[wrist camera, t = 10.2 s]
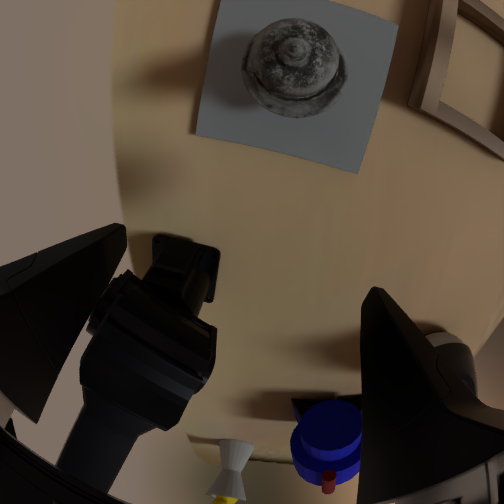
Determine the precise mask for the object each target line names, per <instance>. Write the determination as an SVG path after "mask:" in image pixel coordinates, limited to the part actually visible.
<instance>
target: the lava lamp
mask: <svg viewBox="0 0 504 504" xmlns="http://www.w3.org/2000/svg"><path fill="white" fill-rule="evenodd" d="M219 446H220V455H221V463H222V471H221V472H220V474H219V475H218V477H217V478H216V480H215V481H214V483H213V484H212V486H211V487H210V488H209V490H208V491H207V493H206V494H207V495H210V496H213V497H217V499H215V500H214V501H213V502H212V504H234V503H235V502H236V501H246V498H245V493H244V489H243V483H242V478H241V473H240V472H241V471H242V469H243V467H244V466H245V464H246V462H247V460H248V458H249V457H250V455H251V453H252V451H253V449H254V448H255V447H254V445H252V444H250V443H248V442H244V441H240V440H234V439H222V440H219Z"/></svg>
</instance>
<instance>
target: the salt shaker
mask: <svg viewBox="0 0 504 504" xmlns="http://www.w3.org/2000/svg"><path fill="white" fill-rule="evenodd" d="M241 73H242V77H243V82H244V84H245V86H246V88H247V90H248V92H249V94H250V95H251V96H252V97H253V98H254V99H255V100H256V102H257V103H258V104H259V105H261V106H262V107H264V108H265V109H267V110H268V111H270V112H272V113H275V114H278V115H281V116H283V117H291V118H304V117H312V116H314V115H317V114H320V113H323V112H325V111H326V110H327V109H329V108H330V107H332V106H333V105H335V103H336V102H337V101H338V100H339V99H340V97H341V96H342V95H343V93H344V90H345V88H346V86H347V83H348V75H349V68H348V62H347V57H346V55H345V53H344V51H343V49H342V47H341V46H340V44H339V43H338V42H337V41H336V40H335V39H334V38H333V36H332V35H330V34H329V33H328V32H327V31H326V30H325V29H324V28H322V27H321V26H319V25H318V24H316V23H314V22H311V21H308V20H306V19H299V18H288V19H281V20H278V21H276V22H273V23H271V24H269V25H268V26H267V27H265V28H264V29H263V30H261V31H260V32H259V33H257V34H256V35H255V36H254V37H253V38H252V39H251V41H250V42H249V43H248V45H247V46H246V48H245V51H244V54H243V56H242V64H241Z"/></svg>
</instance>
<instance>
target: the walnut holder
mask: <svg viewBox="0 0 504 504" xmlns="http://www.w3.org/2000/svg"><path fill="white" fill-rule="evenodd" d="M457 12H458V13H460V14H461V15H463V16H464V17H466V18H467V19H469V20H470V21H472V22H473V23H475V24H476V25H478V26H479V27H480V28H482V29H483V30H484V31H486V32H487V33H488V34H490V35H491V36H492V37H494V38H495V39H496V40H497V41H499V42H500V43H501V44H502V45H503V46H504V19H503V18H502V17H501V16H499V15H498V14H497V13H496V12H494V11H493V10H492V9H491V8H489V7H488V6H487V5H485V4H484V3H483V2H481V1H480V0H430V3H429V10H428V16H427V22H426V28H425V33H424V38H423V43H422V48H421V53H420V57H419V61H418V66H417V70H416V74H415V78H414V82H413V86H412V89H411V93H410V97H409V100H408V104H407V105H408V106H410V107H412V108H414V109H416V110H418V111H420V112H423V113H425V114H427V115H429V116H431V117H433V118H434V119H436V120H438V121H440V122H442V123H444V124H446V125H448V126H449V127H451V128H453V129H455V130H456V131H458V132H460V133H462V134H463V135H465V136H467V137H468V138H470V139H472V140H473V141H475V142H476V143H478V144H479V145H481V146H483V147H484V148H486V149H487V150H489V151H490V152H492V153H493V154H494V155H496V156H497V157H499V158H500V159H501V160H503V161H504V142H503V141H502V140H500V139H499V138H498V137H496V136H495V135H494V134H492V133H491V132H489V131H488V130H487V129H485V128H484V127H482V126H481V125H479V124H478V123H476V122H475V121H473V120H472V119H470V118H468V117H467V116H465V115H464V114H462V113H460V112H459V111H457V110H455V109H454V108H452V107H450V106H448V105H447V104H445V103H443V102H441V101H439V100H440V97H441V93H442V89H443V85H444V81H445V77H446V73H447V68H448V64H449V59H450V54H451V49H452V43H453V38H454V31H455V25H456V17H457Z"/></svg>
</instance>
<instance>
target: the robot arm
mask: <svg viewBox="0 0 504 504" xmlns="http://www.w3.org/2000/svg"><path fill="white" fill-rule="evenodd" d="M157 239H158V240H159V241H157ZM126 248H127V235H126V227H125V226H124V225H122V224H119V223H113V224H110V225H107V226H105V227H102V228H99V229H96V230H93V231H91V232H88V233H85V234H82V235H79V236H77V237H74V238H72V239H69V240H66V241H64V242H61V243H59V244H56V245H54V246H51V247H48V248H46V249H44V250H41V251H39V252H38V253H34V254H31V255H29V256H26V257H24V258H22V259H19V260H17V261H14V262H11V263H9V264H6V265H3V266H1V267H0V504H131V503H128V502H125V501H123V500H121V499H118V498H116V497H114V496H111V495H109V494H107V493H108V491H109V489H110V488H111V486H112V484H113V482H114V480H115V478H116V476H117V475H118V473H119V471H120V469H121V467H122V465H123V463H124V462H125V460H126V458H127V456H128V454H129V452H130V450H131V449H132V447H133V445H134V443H135V441H136V440H137V438H138V436H140V435H142V434H144V433H146V432H148V431H150V430H152V429H155V428H159V429H162V430H163V431H167V430H169V429H170V428H172V427H173V426H175V425H176V424H177V423H178V422H179V421H180V418H181V416H182V414H183V412H184V410H185V408H186V406H187V404H188V402H189V400H190V398H191V397H192V395H194V394H196V393H197V392H199V391H200V390H201V389H202V388H203V386H204V385H205V384H206V382H207V380H208V379H209V377H210V375H211V373H212V370H213V368H214V365H215V359H216V341H217V328H216V327H214V326H213V325H211V326H210V325H209V324H207V323H205V322H204V321H202V320H201V319H199V318H197V317H198V315H199V312H200V309H201V307H202V304H203V302H207V303H212V302H213V299H214V295H215V288H216V281H217V275H218V268H219V262H220V255H221V253H220V251H219V250H218V249H215V248H211V247H207V246H203V245H199V244H197V243H193V242H189V241H184V240H180V239H176V238H171V237H167V236H163V235H159V234H157V235H155V236H154V237H153V239H152V255H153V264H152V265H151V267H150V268H149V270H148V271H147V273H146V274H145V276H144V277H143V279H142V280H140V279H139V278H138V277H136V276H135V275H133V272H131V271H130V270H129V269H127V271H126V272H125V273H124V274H123V275H122V274H120V275H119V277H118V278H113V280H112V281H111V278H112V277H113V275H114V272H115V271H116V268H117V267H118V265H119V262H120V261H121V258H122V257H123V255H124V253H125V251H126ZM213 253H215V254H216V256H215V255H213ZM110 281H111V282H110ZM109 282H110V284H109ZM108 284H109V285H108ZM89 316H90V318H89ZM88 318H89V324H88V326H87V329H86V331H87V332H88V333H90V334H91V335H93V337H92V339H91V340H90V342H89V344H88V346H87V348H86V350H85V351H84V353H83V355H82V357H81V360H80V369H79V370H80V372H79V373H80V384H81V385H82V391H83V400H84V404H83V407H82V408H81V410H80V413H79V415H78V417H77V419H76V421H75V423H74V425H73V427H72V429H71V431H70V433H69V435H68V437H67V440H66V442H65V444H64V446H63V448H62V450H61V453H60V455H59V457H58V459H57V462H56V464H55V465H53V464H52V463H50V462H48V461H47V460H45V459H44V458H42V457H41V456H39V455H38V454H36V453H35V452H34V451H32V450H31V449H29V448H28V447H27V446H25V445H24V444H23V443H21V442H20V441H18V440H17V438H16V433H15V429H14V425H13V421H12V418H10V416H11V414H12V413H13V411H14V409H16V410H17V411H19V412H20V413H21V414H22V415H24V416H25V417H27V418H28V419H29V420H31V421H32V422H34V423H36V424H37V423H38V421H39V418H40V416H41V413H42V411H43V408H44V406H45V404H46V402H47V399H48V397H49V395H50V393H51V390H52V388H53V386H54V384H55V381H56V380H57V377H58V374H59V373H60V371H61V369H62V367H63V365H64V363H65V361H66V359H67V357H68V355H69V353H70V351H71V349H72V347H73V345H74V343H75V341H76V339H77V337H78V336H79V334H80V332H81V330H82V328H83V327H84V325H85V323H86V321H87V320H88ZM360 356H361V381H362V434H361V455H360V471H359V484H358V494H357V504H389V503H395V504H504V410H501V409H496V408H492V407H489V406H487V405H485V404H484V403H482V402H481V401H480V400H479V399H478V398H477V397H476V396H475V394H474V393H473V392H472V391H471V390H470V389H469V388H468V386H467V385H466V384H465V383H464V382H463V381H462V380H461V378H460V377H459V376H458V375H457V374H456V373H455V372H454V370H453V369H452V368H451V367H450V366H449V364H448V363H447V362H446V361H445V360H444V358H443V357H442V356H441V355H440V353H438V351H437V350H436V349H435V347H434V346H433V345H432V344H431V342H430V341H429V340H428V339H427V338H426V336H425V335H424V334H423V333H422V332H421V331H420V329H419V328H418V327H417V326H416V325H415V324H414V322H413V321H412V320H411V319H410V318H409V317H408V315H407V314H406V313H405V312H404V311H403V310H402V309H401V308H400V306H399V305H398V304H397V303H396V302H395V301H394V300H393V299H392V298H391V296H390V295H389V294H388V293H387V292H386V291H385V290H384V289H383V288H379V287H375V286H374V287H372V288H371V289H370V291H369V293H368V294H367V296H366V298H365V300H364V301H363V303H362V307H361V330H360Z"/></svg>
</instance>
